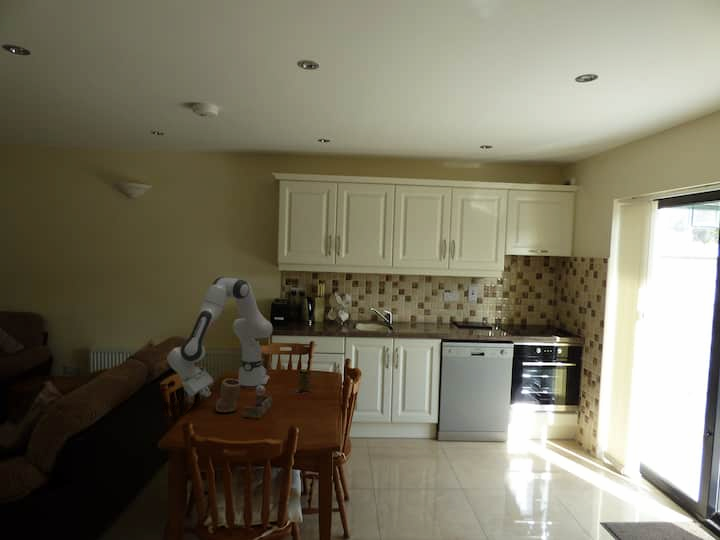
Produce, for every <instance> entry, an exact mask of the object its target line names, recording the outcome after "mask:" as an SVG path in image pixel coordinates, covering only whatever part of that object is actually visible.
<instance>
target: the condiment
mask: <svg viewBox="0 0 720 540" xmlns="http://www.w3.org/2000/svg"><path fill="white" fill-rule="evenodd" d="M297 386H298V388H297V389H295V390H294V391H295V392H297V393H300V394H303V395H305V393H301V392H308V390H310V389H309V388H310V375H309V370H308V369H300V370H299V373H298V385H297ZM296 390H298V391H296Z"/></svg>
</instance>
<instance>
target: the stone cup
mask: <svg viewBox="0 0 720 540" xmlns="http://www.w3.org/2000/svg"><path fill="white" fill-rule="evenodd" d="M241 387H242V385H241V383H240V382H239V381H238V379H236V378H225V379H224V380H222V382H221V386H220V396H221V397H220V398H218V399H217V400H216V404H215V410H216V412H218V413H231V412H234V411H236V409H237V398H238V396H239V394H240V392H241V391H240V390H241Z"/></svg>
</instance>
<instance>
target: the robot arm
mask: <svg viewBox="0 0 720 540" xmlns="http://www.w3.org/2000/svg"><path fill="white" fill-rule="evenodd" d="M228 298H229V299H230V298H231V299H234V300H235V304H236V308H237V311H238V314H239V316H240V317H241V318H237V319H235V320H234V322H233V324H232V331H233V333H234V334H235V335H236V336H237V337H238V339H239V341H240V344H241V349H242V352H241V355H242V358H241V365H240V366H241V367H239V369H238V379H237V380H238V381H239V382H240V383H241V386H243V387H244V386H245V387H258V386H259V385H262V386H263V385H266V384H267V383H268V382H269V380H268V379H270V376H269V375H267V370H266V368H265V367H264V366H263V362H264V358H263V357H262V346H261V344H259V343H258V342H257V341H256V338H257V339H265V338H269V337H270V336H271V335H272V333H273V329H274V328H273V325H272V324H273V323H272V322H270V321H269V320H268V319H267V318H265V317H264V315H262V313H261V312H260V310H259V308H258V305H257V302H256V297H255V294H254V291H253V288H252V286H251V284H250V283H249V282H247V281H246V280H243V279H239V278H234V277H223V276H221V277H218V278H216V279H215V280H214V282H213V283H212V285H211V286H210V287H209V288H208V290H207V291H206V293H205V296H204V297H203V300H202V303H201V306H200V309H199V311H198V312H199V313H198V317H197V319H196V322H195V325H194V326H193V329H192V331H191V333H190V336H189V338H188V339H187V340H186V341H185V342H184V343H183V344H182V346H179V347H174V348H173V349H171V350H170V351H169V353H168V354H167V356H166V361H167V363H168V364H169V366H170V367H171V368H172V369H173V370H174V372H176V373H177V374H178V376H179V378H180V379H181V382H182V386H183V389H184V390H185V392H186V393H187V394H188V395H189V396H190V397H193V396H195V395H196V394H198V393H200V394H201V395H203V396H205V398H208V397H210V396H211V395H212V392H211V391H210V388H209V386H210V385H212V384H213V383H214V378H212V376H211V375H210V374H209V372H207V371H206V369H205V367H203V366H196V365H195V363H197V362H199V361H201V360H202V359H203V358H204V357H205V355H206V347H205V346H204V344H203V340H204V338H205V336H206V333H207V330H208V329H209V326H211V325H212V324H213V323H214V322H215V321H217V320H218V319H219V317H220V316H221V314H222V311H223V309H224V306H225V303H226V301H227V300H226V299H228ZM267 381H268V382H267Z"/></svg>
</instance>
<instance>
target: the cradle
mask: <svg viewBox="0 0 720 540" xmlns="http://www.w3.org/2000/svg"><path fill="white" fill-rule="evenodd" d="M265 392H266V387H265V386H263V384H262V385H257V386H256V388H255V394H257V395H256V406H249V405H244V406H243V410H242V411H243V413H242V414H243V418H245V417H248V418H247V419H257V418H259V419H261V418H262V416H264V414H265V413H267V411H268V410H269V409H270V408H272V406H273V398H274V397H273V395H266V394H265ZM264 394H265V395H264Z"/></svg>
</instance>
